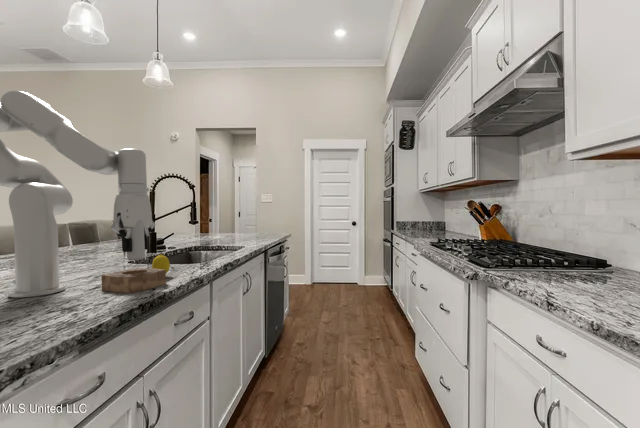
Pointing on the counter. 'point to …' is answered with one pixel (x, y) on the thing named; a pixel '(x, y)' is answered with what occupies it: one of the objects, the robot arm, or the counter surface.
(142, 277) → the socket block
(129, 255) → the beverage can
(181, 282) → the counter surface
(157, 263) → the lemon
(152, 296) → the counter surface
